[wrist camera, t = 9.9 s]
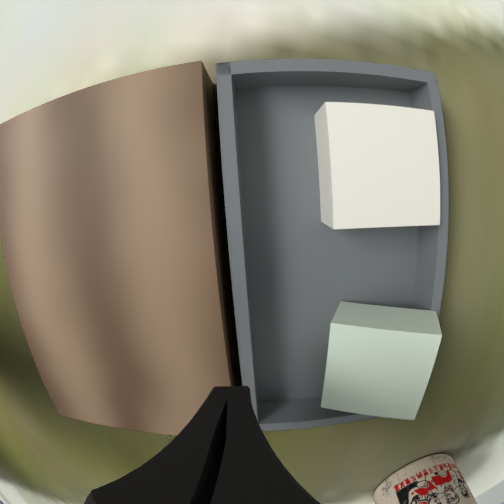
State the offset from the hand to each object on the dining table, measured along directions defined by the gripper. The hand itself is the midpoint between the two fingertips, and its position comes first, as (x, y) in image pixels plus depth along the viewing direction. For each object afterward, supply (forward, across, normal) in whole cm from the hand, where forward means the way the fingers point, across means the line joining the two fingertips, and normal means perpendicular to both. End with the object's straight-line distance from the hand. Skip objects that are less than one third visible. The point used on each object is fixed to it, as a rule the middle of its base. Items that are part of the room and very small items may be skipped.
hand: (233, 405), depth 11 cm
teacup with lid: (+6, -14, +19) cm, 24 cm away
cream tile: (+2, -7, -9) cm, 11 cm away
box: (+5, -5, -4) cm, 9 cm away
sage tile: (+2, -6, 0) cm, 7 cm away
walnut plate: (+6, +6, -4) cm, 9 cm away
